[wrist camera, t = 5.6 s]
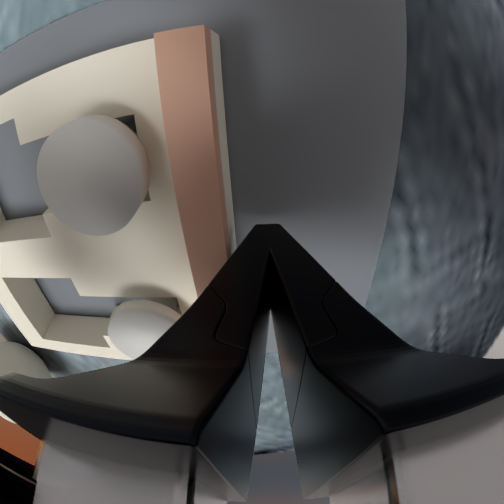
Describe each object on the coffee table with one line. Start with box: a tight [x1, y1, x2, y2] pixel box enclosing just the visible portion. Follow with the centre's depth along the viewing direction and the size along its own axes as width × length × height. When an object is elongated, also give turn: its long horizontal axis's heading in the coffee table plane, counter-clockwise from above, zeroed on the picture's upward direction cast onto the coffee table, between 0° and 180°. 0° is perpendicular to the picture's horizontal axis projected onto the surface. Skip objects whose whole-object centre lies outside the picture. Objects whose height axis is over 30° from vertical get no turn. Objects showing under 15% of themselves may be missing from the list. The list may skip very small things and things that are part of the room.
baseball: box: [0, 342, 52, 424], centre depth 16 cm, size 7×7×7 cm
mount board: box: [0, 0, 407, 359], centre depth 9 cm, size 20×16×4 cm
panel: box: [0, 25, 237, 360], centre depth 9 cm, size 12×12×3 cm
